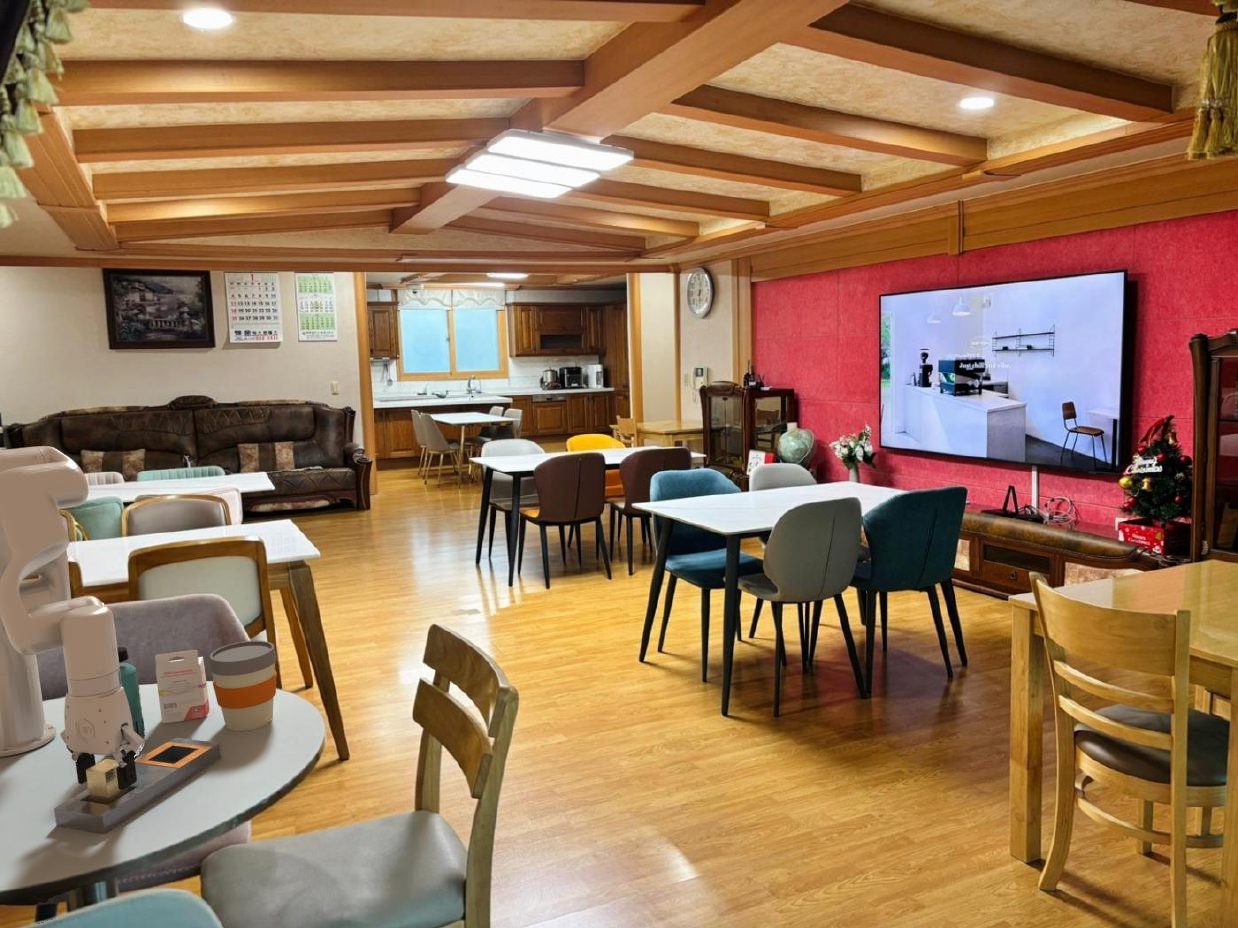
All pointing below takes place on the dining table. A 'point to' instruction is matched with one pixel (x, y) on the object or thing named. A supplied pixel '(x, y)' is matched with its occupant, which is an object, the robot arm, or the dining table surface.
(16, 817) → the dining table surface
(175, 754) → the grey flat rectangular block
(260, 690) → the reusable coffee cup
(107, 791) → the wooden block
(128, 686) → the beverage bottle
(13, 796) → the dining table surface
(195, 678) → the ink cartridge box
